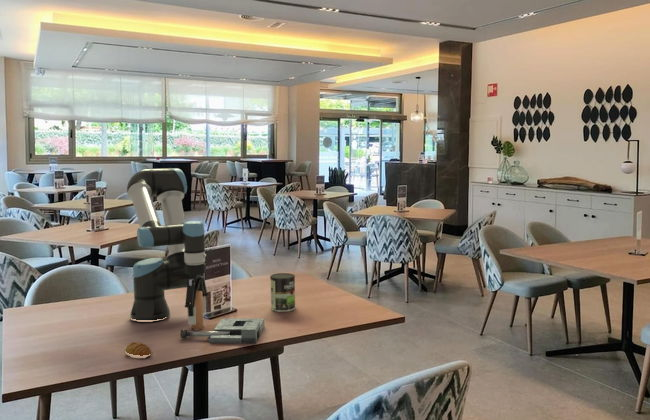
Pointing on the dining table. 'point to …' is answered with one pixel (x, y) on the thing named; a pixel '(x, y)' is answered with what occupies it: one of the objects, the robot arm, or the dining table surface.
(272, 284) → the coffee can
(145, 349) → the pastry
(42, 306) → the dining table surface
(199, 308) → the wooden block
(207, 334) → the lock pin
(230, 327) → the dock
